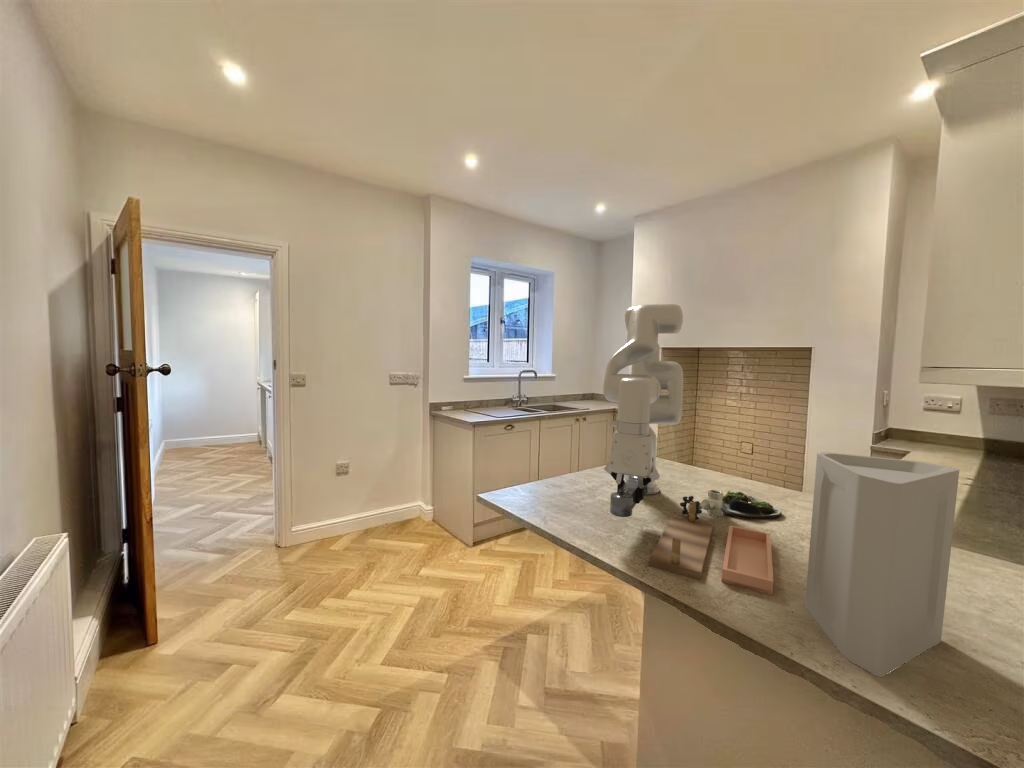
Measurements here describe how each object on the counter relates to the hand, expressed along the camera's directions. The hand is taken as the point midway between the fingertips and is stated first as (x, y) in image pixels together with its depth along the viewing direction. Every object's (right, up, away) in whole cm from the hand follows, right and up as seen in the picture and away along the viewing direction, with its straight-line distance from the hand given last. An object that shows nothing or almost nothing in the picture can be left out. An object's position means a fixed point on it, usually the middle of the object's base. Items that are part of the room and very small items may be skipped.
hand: (630, 499), depth 104 cm
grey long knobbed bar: (0, 0, 0) cm, 0 cm away
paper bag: (+28, -12, -35) cm, 46 cm away
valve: (+24, -8, +12) cm, 28 cm away
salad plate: (+38, -8, +18) cm, 43 cm away
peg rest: (+11, -9, -6) cm, 16 cm away
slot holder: (+22, -10, -13) cm, 27 cm away
